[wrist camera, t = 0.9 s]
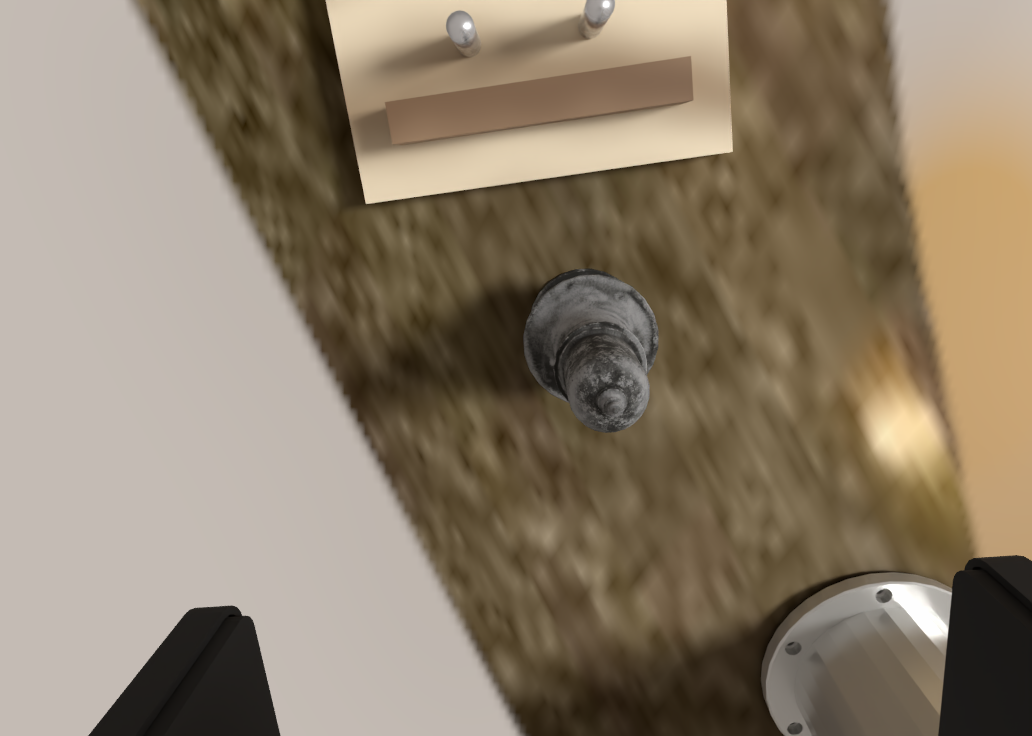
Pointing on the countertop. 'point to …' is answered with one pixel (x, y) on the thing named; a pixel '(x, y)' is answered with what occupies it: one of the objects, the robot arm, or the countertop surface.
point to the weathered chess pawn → (593, 347)
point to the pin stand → (527, 88)
